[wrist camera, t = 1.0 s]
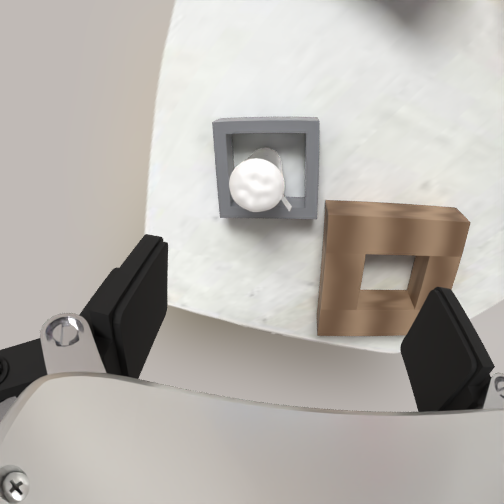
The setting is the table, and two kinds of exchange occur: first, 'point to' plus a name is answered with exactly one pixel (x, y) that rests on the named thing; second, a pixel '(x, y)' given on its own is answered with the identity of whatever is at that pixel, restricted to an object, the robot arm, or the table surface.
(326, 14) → the table surface
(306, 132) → the grey square frame
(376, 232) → the socket block
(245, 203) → the milkshake
